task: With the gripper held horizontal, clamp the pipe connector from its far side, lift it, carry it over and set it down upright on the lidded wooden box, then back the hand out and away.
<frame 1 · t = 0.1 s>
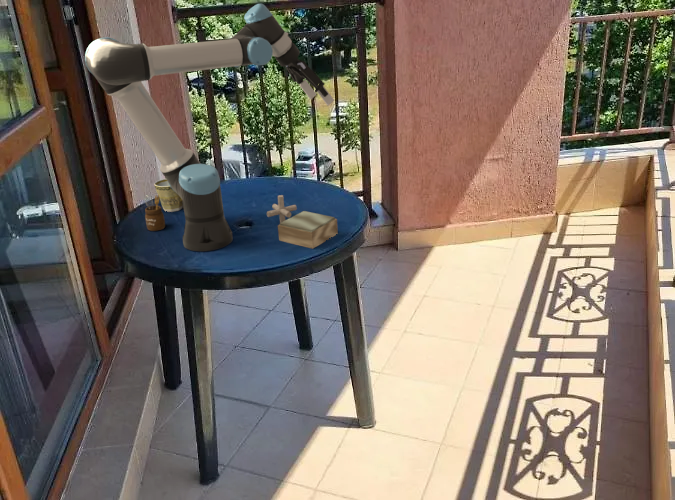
hand: (322, 99, 214), 36 cm above the table, tool tilted 35°, fingers open, 13 cm apart
utensil holder: (156, 228, 212), on the table
pipe connector: (283, 225, 209), on the table
lidded wooden box: (308, 237, 198), on the table
ceramic cup: (176, 209, 228), on the table
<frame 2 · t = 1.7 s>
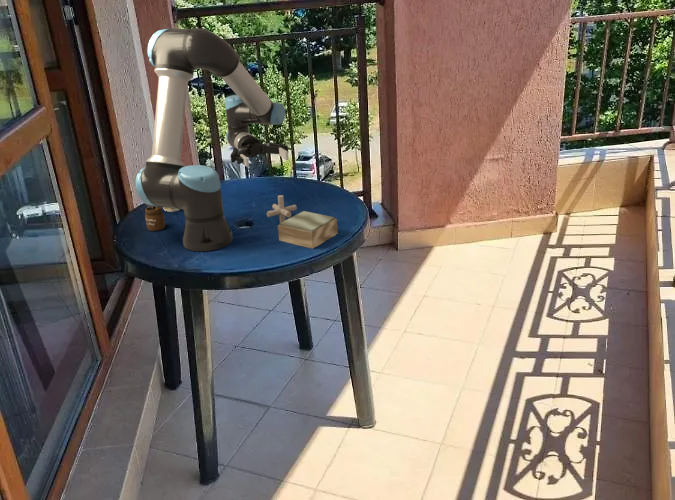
hand: (267, 159, 209), 20 cm above the table, tool horizontal, fingers open, 13 cm apart
nothing on the table moved.
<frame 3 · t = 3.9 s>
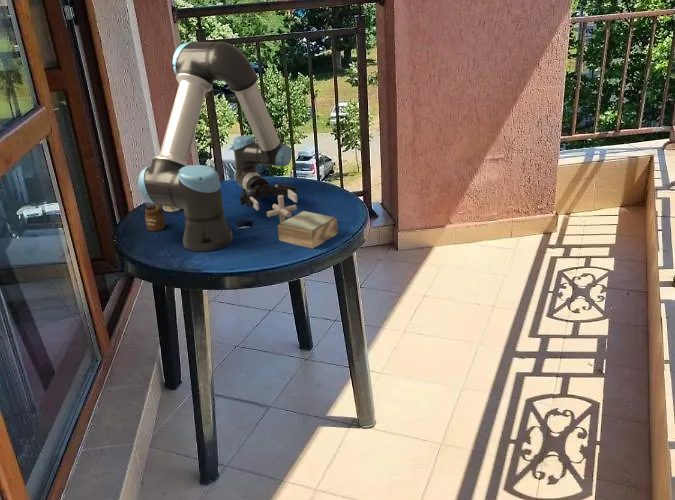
hand: (277, 202, 211), 6 cm above the table, tool horizontal, fingers open, 13 cm apart
nothing on the table moved.
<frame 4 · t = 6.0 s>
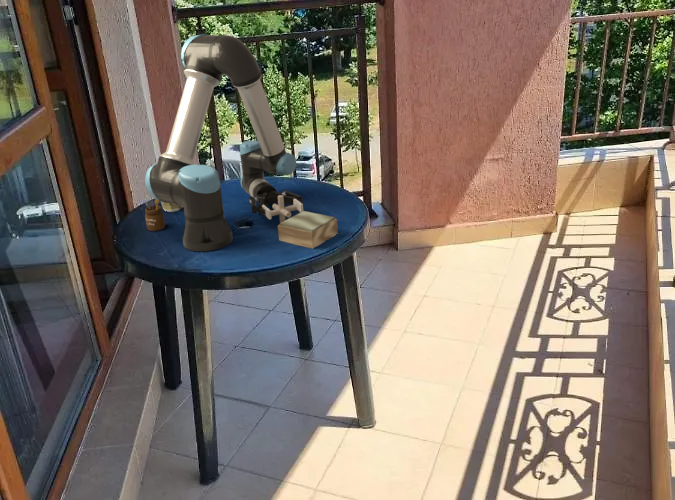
hand: (286, 211, 202), 6 cm above the table, tool horizontal, fingers closed on pipe connector, 10 cm apart
pipe connector: (283, 225, 209), on the table, touching gripper
everything else where it was.
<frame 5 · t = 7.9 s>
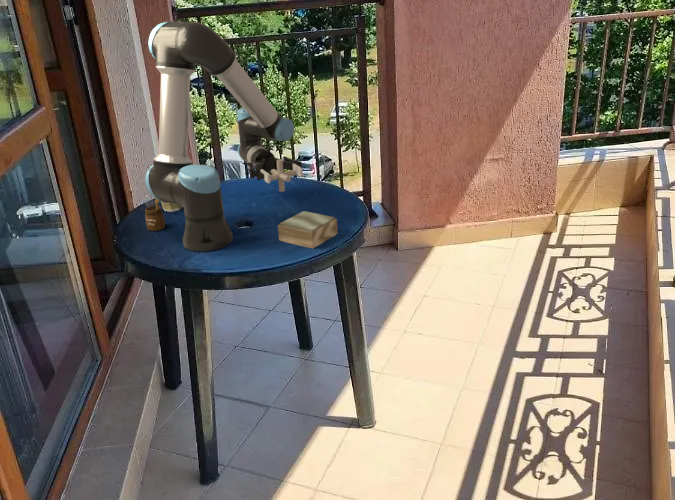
hand: (285, 175, 197), 18 cm above the table, tool horizontal, fingers closed on pipe connector, 10 cm apart
pipe connector: (282, 191, 203), point 12 cm above the table, touching gripper
everything else where it was.
when the fingers open (13 cm above the table, at t = 10.1 s): pipe connector stays where it is, point 7 cm above the table.
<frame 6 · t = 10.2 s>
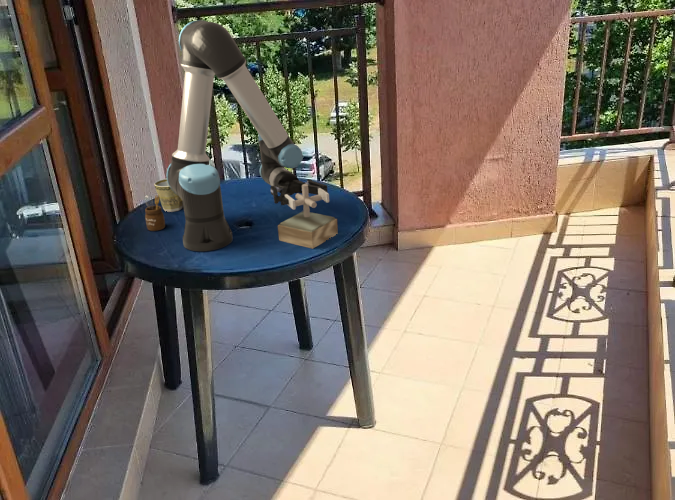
hand: (311, 201, 189), 13 cm above the table, tool horizontal, fingers open, 10 cm apart
pipe connector: (307, 216, 196), point 7 cm above the table
everything else where it was.
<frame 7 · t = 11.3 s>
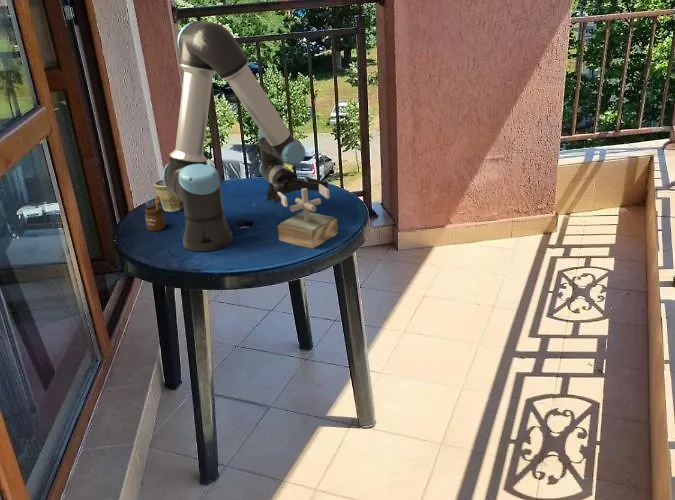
hand: (307, 198, 192), 13 cm above the table, tool horizontal, fingers open, 13 cm apart
pipe connector: (307, 220, 196), point 5 cm above the table, touching lidded wooden box
everything else where it was.
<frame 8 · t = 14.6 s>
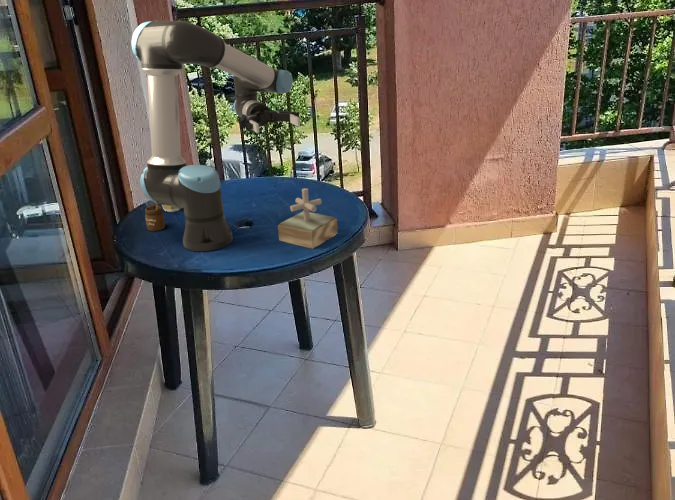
hand: (278, 125, 198), 32 cm above the table, tool horizontal, fingers open, 13 cm apart
nothing on the table moved.
at the end: pipe connector inside the target area on the lidded wooden box (0.1 cm from its centre), point 5.4 cm above the lidded wooden box's base; pipe connector tilted 0°; the gripper is holding nothing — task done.
